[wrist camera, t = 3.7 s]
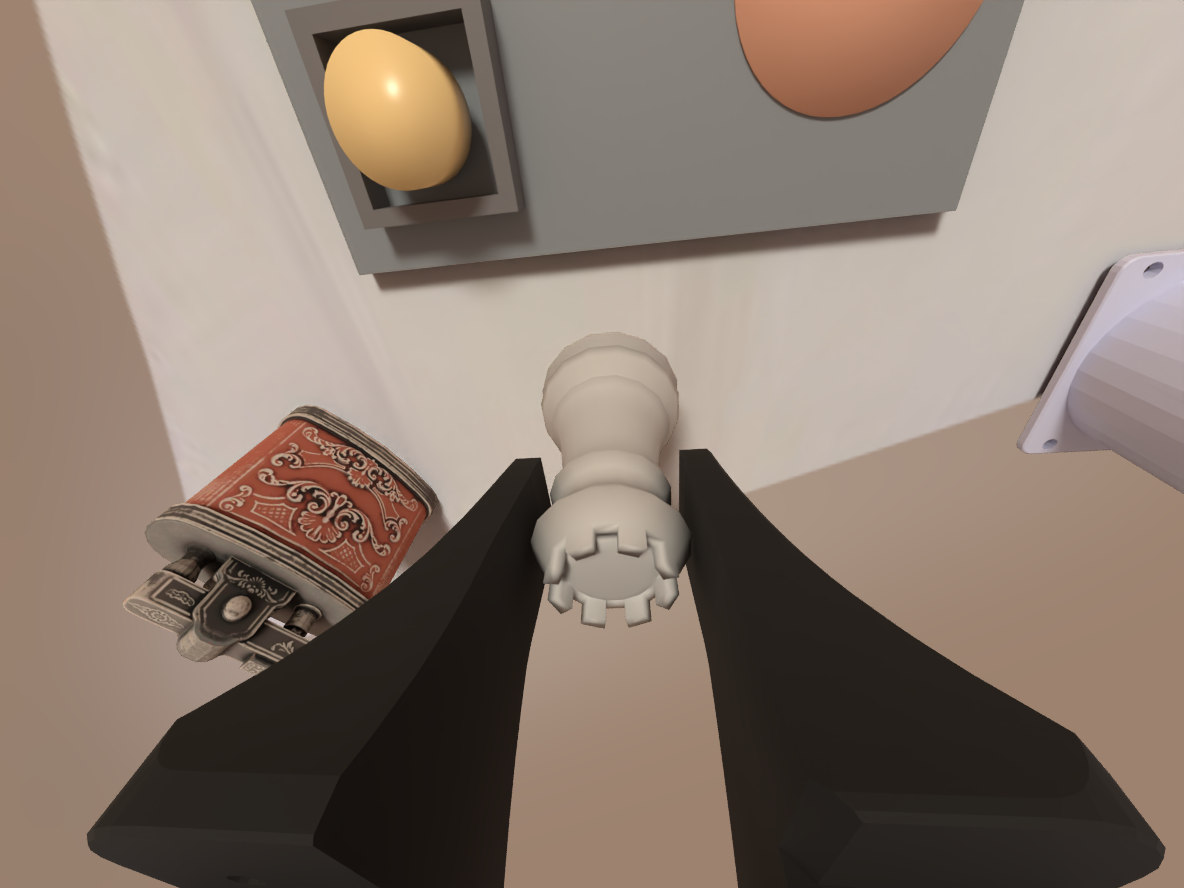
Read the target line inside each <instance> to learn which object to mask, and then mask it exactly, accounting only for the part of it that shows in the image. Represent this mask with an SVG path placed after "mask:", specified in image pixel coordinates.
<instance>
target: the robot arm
mask: <svg viewBox="0 0 1184 888" xmlns="http://www.w3.org/2000/svg"><path fill="white" fill-rule="evenodd" d="M1150 265H1151V266H1150ZM1148 266H1150V268H1149V269H1148V270H1147V271H1146V272H1144V271H1145V270H1146V268H1147V267H1148ZM1017 447H1018V448H1019V449H1020V450H1022V451H1023V452H1025V453H1027V454H1036V453H1057V452H1076V451H1097V450H1112V451H1114V452H1115V453H1117V454H1119V455H1120V456H1122V457H1124V458H1126V459H1127V460H1129V461H1130V462H1132V463H1134V464H1135V465H1137V466H1139V467H1140V468H1142V469H1144V470H1145V471H1147V472H1148V473H1150V474H1152V475H1154V476H1155V477H1157V478H1158V479H1160V480H1162V481H1163V482H1165V483H1167V484H1168V485H1170V486H1172V487H1173V488H1175V489H1177V490H1178V491H1180V492H1182V493H1183V494H1184V249H1180V250H1169V251H1159V252H1148V253H1137V254H1132V255H1128V256H1126V257H1124V258H1122V259H1120V260H1119V261H1118V262H1117V263H1116V264H1114V265H1113V267H1112V268H1111V269H1110V271H1109V273H1108V275H1107V276H1106V278H1105V280H1104V282H1103V284H1102V286H1101V288H1100V289H1099V291H1098V293H1097V295H1096V297H1095V299H1094V300H1093V302H1092V304H1091V306H1090V308H1089V310H1088V312H1087V313H1086V315H1085V317H1084V319H1083V321H1082V323H1081V324H1080V326H1079V328H1078V330H1077V332H1076V334H1075V336H1074V337H1073V339H1072V341H1071V343H1070V345H1069V347H1068V349H1067V350H1066V352H1065V354H1064V356H1063V358H1062V360H1061V361H1060V363H1059V365H1058V367H1057V369H1056V371H1055V373H1054V374H1053V376H1052V378H1051V380H1050V382H1049V384H1048V386H1047V387H1046V389H1045V391H1044V393H1043V395H1042V397H1041V398H1040V401H1039V402H1038V404H1037V406H1036V408H1035V410H1034V411H1033V413H1032V415H1031V417H1030V419H1029V421H1028V423H1027V424H1026V426H1025V428H1024V430H1023V432H1022V434H1021V435H1020V437H1019V439H1018V441H1017ZM550 507H551V503H550V498H549V494H548V489H547V485H546V480H545V475H544V471H543V466H542V462H541V458H525V459H515V461H514V462H513V463H512V464H511V465H510V466H509V467H508V468H507V469H506V470H505V472H504V473H503V474H502V475H501V476H500V477H499V478H498V479H497V481H496V482H495V483H494V484H493V485H492V486H491V487H490V489H489V490H488V491H487V492H486V493H485V494H484V495H483V496H482V497H481V499H480V500H479V501H478V502H477V503H476V504H475V505H474V506H473V507H472V508H471V509H470V510H469V512H468V513H467V514H466V515H465V516H464V517H463V518H462V519H461V520H460V521H459V522H458V523H457V524H456V525H455V526H454V527H453V528H452V529H451V530H450V531H449V532H448V533H447V534H446V535H445V536H444V537H443V538H442V539H441V540H440V541H439V542H438V543H437V544H436V545H435V546H434V547H433V548H431V549H430V550H429V551H428V552H427V553H426V554H425V555H424V556H423V557H421V558H420V559H419V560H418V561H417V562H416V563H415V564H413V565H412V566H411V567H410V568H409V569H407V570H406V571H405V572H404V573H403V574H401V575H400V576H399V577H398V578H397V579H395V580H394V581H393V582H392V583H390V584H389V585H388V586H387V587H385V588H384V589H383V590H381V591H380V592H379V593H377V594H376V595H375V596H373V597H372V598H371V599H369V600H368V601H367V602H365V603H364V604H362V605H361V606H360V607H358V608H357V609H356V610H354V611H353V612H352V613H350V614H349V615H348V616H346V617H345V618H343V619H342V620H341V621H339V622H338V623H336V624H335V625H334V626H332V627H331V628H329V629H328V630H326V631H325V632H323V633H322V634H320V635H319V636H317V637H316V638H314V639H313V640H311V641H310V642H308V643H307V644H305V645H303V646H302V647H300V648H299V649H297V650H296V651H294V652H292V653H291V654H289V655H288V656H286V657H285V658H283V659H281V660H280V661H278V662H277V663H275V664H273V665H272V666H270V667H268V668H267V669H265V670H263V671H262V672H260V673H258V674H257V675H255V676H253V677H252V678H250V679H248V680H246V681H245V682H243V683H241V684H239V685H238V686H236V687H234V688H232V689H230V690H229V691H227V692H225V693H223V694H222V695H220V696H218V697H217V698H215V699H213V700H211V701H210V702H208V703H206V704H204V705H203V706H201V707H199V708H198V709H196V710H194V711H192V712H190V713H188V714H186V715H184V716H183V717H181V718H179V719H177V720H176V721H175V722H174V724H173V725H172V726H171V728H170V729H169V730H168V732H167V733H166V734H165V735H164V737H163V738H162V739H161V740H160V742H159V743H158V744H157V746H156V747H155V748H154V749H153V751H152V752H151V753H150V755H149V756H148V757H147V758H146V760H145V761H144V762H143V763H142V765H141V766H140V767H139V769H138V770H137V771H136V772H135V774H134V775H133V776H132V777H131V779H130V780H129V781H128V782H127V784H126V785H125V786H124V788H123V789H122V790H121V791H120V793H119V794H118V795H117V796H116V798H115V799H114V800H113V801H112V803H111V804H110V805H109V807H108V808H107V809H106V810H105V812H104V813H103V814H102V815H101V817H100V818H99V819H98V821H97V822H96V823H95V824H94V826H93V827H92V828H91V830H90V831H89V832H88V833H87V840H88V846H89V848H90V850H91V851H93V852H94V853H96V854H97V855H99V856H100V857H102V858H105V859H107V860H109V861H111V862H114V863H116V864H118V865H121V866H123V867H126V868H129V869H132V870H134V871H137V872H139V873H142V874H144V875H147V876H150V877H152V878H155V879H158V880H160V881H163V882H166V883H168V884H171V885H174V886H176V887H179V888H504V877H505V866H506V853H507V841H508V828H509V817H510V807H511V797H512V787H513V777H514V767H515V756H516V749H517V740H518V732H519V722H520V714H521V706H522V698H523V690H524V683H525V675H526V668H527V662H528V657H529V651H530V646H531V641H532V637H533V633H534V628H535V624H536V620H537V615H538V611H539V607H540V602H541V598H542V594H543V589H544V585H545V584H544V583H543V581H544V575H545V573H544V572H543V571H542V569H541V568H540V567H539V566H538V565H537V563H536V560H535V557H534V553H533V549H532V546H531V539H532V535H533V532H534V529H535V525H536V522H537V520H538V519H539V518H540V517H541V516H542V515H543V514H544V513H545V512H546V511H547V510H548V509H549V508H550ZM679 513H680V514H681V516H682V518H683V519H684V521H685V523H686V524H687V526H688V528H689V530H690V531H691V533H692V538H691V556H690V558H689V559H688V561H687V563H686V566H687V570H688V575H689V579H690V584H691V587H692V592H693V596H694V600H695V604H696V609H697V613H698V617H699V621H700V626H701V630H702V634H703V638H704V642H705V647H706V652H707V657H708V663H709V668H710V676H711V682H712V689H713V696H714V703H715V710H716V718H717V725H718V732H719V739H720V747H721V754H722V762H723V769H724V777H725V785H726V792H727V800H728V808H729V816H730V823H731V831H732V840H733V848H734V857H735V865H736V873H737V881H738V888H1119V887H1121V886H1123V885H1126V884H1128V883H1131V882H1133V881H1135V880H1138V879H1140V878H1142V877H1144V876H1146V875H1148V874H1149V873H1151V872H1153V871H1154V870H1156V869H1158V868H1159V866H1160V864H1161V862H1162V860H1163V858H1164V853H1165V846H1164V845H1163V844H1162V842H1161V841H1160V839H1159V838H1158V837H1157V836H1156V834H1155V833H1154V831H1153V830H1152V829H1151V827H1150V826H1149V825H1148V823H1147V822H1146V821H1145V819H1144V818H1143V817H1142V816H1141V814H1140V813H1139V812H1138V810H1137V809H1136V808H1135V806H1134V805H1133V804H1132V802H1131V801H1130V800H1129V799H1128V797H1127V796H1126V795H1125V793H1124V792H1123V791H1122V789H1121V788H1120V787H1119V785H1118V784H1117V783H1116V782H1115V780H1114V779H1113V778H1112V776H1111V775H1110V774H1109V773H1108V771H1107V770H1106V769H1105V768H1104V767H1103V766H1102V764H1101V763H1100V762H1099V761H1098V760H1097V759H1096V757H1095V756H1094V755H1093V754H1092V753H1091V752H1090V750H1089V749H1088V748H1087V747H1086V746H1085V745H1084V743H1083V742H1082V741H1081V740H1080V739H1079V738H1078V737H1077V735H1076V734H1075V733H1073V732H1071V731H1070V730H1068V729H1066V728H1064V727H1063V726H1061V725H1059V724H1058V723H1056V722H1054V721H1052V720H1051V719H1049V718H1047V717H1045V716H1044V715H1042V714H1040V713H1039V712H1037V711H1035V710H1033V709H1032V708H1030V707H1028V706H1026V705H1024V704H1023V703H1021V702H1019V701H1018V700H1016V699H1014V698H1012V697H1011V696H1009V695H1007V694H1006V693H1004V692H1002V691H1000V690H998V689H997V688H995V687H993V686H992V685H990V684H988V683H986V682H984V681H983V680H981V679H980V678H978V677H976V676H974V675H973V674H971V673H969V672H968V671H966V670H965V669H963V668H961V667H960V666H958V665H957V664H955V663H953V662H952V661H950V660H949V659H947V658H946V657H944V656H942V655H941V654H939V653H938V652H936V651H935V650H933V649H931V648H930V647H928V646H927V645H925V644H924V643H922V642H921V641H919V640H917V639H916V638H914V637H913V636H911V635H910V634H908V633H907V632H905V631H904V630H903V629H901V628H900V627H898V626H897V625H895V624H894V623H893V622H891V621H890V620H888V619H887V618H886V617H884V616H883V615H881V614H880V613H879V612H877V611H876V610H874V609H873V608H872V607H870V606H869V605H867V604H866V603H864V602H863V601H861V600H860V599H859V598H858V597H856V596H855V595H853V594H852V593H851V592H849V591H848V590H847V589H845V588H844V587H843V586H842V585H840V584H839V583H838V582H837V581H835V580H834V579H833V578H831V577H830V576H829V575H828V574H826V573H825V572H824V571H823V570H822V569H821V568H819V567H818V566H817V565H816V564H815V563H814V562H812V561H811V560H810V559H809V558H808V557H807V556H805V555H804V554H803V553H802V552H801V551H800V550H799V549H798V548H797V547H795V546H794V545H793V544H792V543H791V542H790V541H789V540H788V539H787V538H786V537H785V536H784V535H783V534H782V533H781V532H780V531H779V530H778V529H777V528H776V527H775V526H774V525H773V524H772V523H771V522H770V521H769V520H768V519H767V518H766V517H765V516H764V515H763V514H762V513H761V512H760V511H759V510H758V509H757V508H756V507H755V505H754V504H753V503H752V502H751V501H750V500H749V499H748V498H747V497H746V496H745V495H744V493H743V492H742V491H741V490H740V489H739V488H738V486H737V485H736V484H735V483H734V482H733V480H732V479H731V478H730V477H729V476H728V474H727V473H726V472H725V470H724V469H723V468H722V467H721V465H720V464H719V463H718V461H717V460H716V459H715V457H714V456H713V455H712V453H711V452H710V451H709V450H708V449H692V450H680V451H679Z"/></svg>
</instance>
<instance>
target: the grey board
mask: <svg viewBox="0 0 1184 888" xmlns="http://www.w3.org/2000/svg"><path fill="white" fill-rule="evenodd" d="M251 2H252V4H253V7H254V9H255V12H256V15H257V17H258V20H259V22H260V25H261V27H262V30H263V32H264V35H265V37H266V40H267V42H268V45H269V47H270V50H271V53H272V55H273V58H274V60H275V63H276V65H277V68H278V70H279V73H280V75H281V78H282V80H283V83H284V85H285V88H286V91H287V93H288V96H289V98H290V101H291V103H292V106H293V108H294V111H295V113H296V116H297V118H298V121H299V123H300V126H301V129H302V131H303V134H304V136H305V139H306V141H307V144H308V146H309V149H310V151H311V154H312V156H313V159H314V161H315V164H316V166H317V169H318V172H319V174H320V177H321V179H322V182H323V184H324V187H325V189H326V192H327V194H328V197H329V199H330V202H331V204H332V207H333V210H334V212H335V215H336V217H337V220H338V222H339V225H340V227H341V230H342V232H343V235H344V237H345V240H346V242H347V245H348V248H349V250H350V253H351V255H352V258H353V260H354V263H355V265H356V268H357V270H358V273H359V275H365V274H374V273H383V272H393V271H402V270H411V269H420V268H430V267H439V266H448V265H457V264H467V263H476V262H485V261H494V260H504V259H513V258H522V257H532V256H541V255H550V254H559V253H569V252H578V251H587V250H596V249H606V248H615V247H624V246H633V245H643V244H652V243H661V242H670V241H680V240H689V239H698V238H707V237H717V236H726V235H735V234H744V233H754V232H763V231H772V230H781V229H791V228H800V227H809V226H818V225H828V224H837V223H846V222H855V221H865V220H874V219H883V218H892V217H902V216H911V215H920V214H929V213H939V212H948V211H956V209H957V206H958V203H959V200H960V196H961V193H962V190H963V187H964V184H965V181H966V178H967V175H968V172H969V169H970V166H971V163H972V160H973V156H974V153H975V150H976V147H977V144H978V141H979V138H980V135H981V132H982V129H983V126H984V123H985V120H986V117H987V113H988V110H989V107H990V104H991V101H992V98H993V95H994V92H995V89H996V86H997V83H998V80H999V77H1000V73H1001V70H1002V67H1003V64H1004V61H1005V58H1006V55H1007V52H1008V49H1009V46H1010V43H1011V40H1012V37H1013V33H1014V30H1015V27H1016V24H1017V21H1018V18H1019V15H1020V12H1021V9H1022V6H1023V3H1024V0H251ZM364 29H378V30H384V31H387V32H391V33H393V34H395V35H398V36H400V37H402V38H404V39H405V40H407V41H409V42H411V43H413V44H415V45H417V46H419V47H421V48H422V49H424V50H426V51H428V52H429V53H431V54H433V55H434V56H435V57H436V58H438V59H439V60H440V61H441V62H442V63H443V64H444V65H445V66H446V67H447V68H448V69H449V70H450V72H451V73H452V74H453V76H454V77H455V79H456V80H457V82H458V83H459V85H460V87H461V89H462V91H463V93H464V96H465V99H466V101H467V104H468V108H469V112H470V117H471V125H472V139H471V146H470V151H469V154H468V157H467V159H466V162H465V164H464V166H463V167H462V169H461V170H460V171H459V173H458V174H457V175H456V176H455V177H454V178H452V179H451V180H450V181H448V182H446V183H444V184H442V185H439V186H434V187H429V188H423V189H417V190H410V191H401V190H395V189H391V188H388V187H385V186H382V185H380V184H378V183H377V182H375V181H373V180H372V179H370V178H369V177H367V176H366V175H365V174H364V173H362V172H361V171H360V170H359V169H358V168H357V167H356V166H355V165H354V164H353V163H352V162H351V160H350V159H349V158H348V157H347V155H346V154H345V152H344V151H343V149H342V148H341V146H340V145H339V143H338V141H337V139H336V137H335V135H334V132H333V130H332V128H331V125H330V122H329V119H328V116H327V111H326V106H325V98H324V79H325V72H326V68H327V64H328V62H329V59H330V57H331V54H332V53H333V51H334V49H335V48H336V47H337V45H338V44H339V43H340V42H341V41H342V40H343V39H344V38H346V37H347V36H348V35H350V34H352V33H354V32H357V31H360V30H364Z"/></svg>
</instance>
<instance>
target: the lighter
mask: <svg viewBox="0 0 1184 888" xmlns="http://www.w3.org/2000/svg"><path fill="white" fill-rule="evenodd" d="M436 502H437V499H436V494H435V493H434V491H433V490H432V489H431V488H430V487H429V486H428V485H427V484H426V483H425V482H424V481H423V480H422V479H421V478H420V477H419V476H418V475H417V474H416V473H415V472H414V471H413V470H412V469H411V468H410V467H409V466H408V465H406V464H405V463H404V462H403V461H402V460H400V459H399V458H398V457H397V456H396V455H394V454H393V453H392V452H391V451H390V450H388V449H387V448H386V447H385V446H383V445H382V444H380V443H379V442H377V441H376V440H374V439H373V438H371V437H370V436H368V435H367V434H365V433H364V432H362V431H361V430H359V429H358V428H356V427H355V426H353V425H351V424H349V423H348V422H346V421H344V420H342V419H341V418H339V417H337V416H335V415H333V414H332V413H330V412H328V411H326V410H325V409H322V408H320V407H317V406H311V405H305V406H301V407H298V408H297V409H295V410H294V411H293V412H291V413H290V414H289V415H288V416H286V417H285V418H284V419H283V420H281V422H280V424H279V426H278V429H277V430H276V431H274V432H273V433H272V434H271V435H269V436H268V437H267V438H266V439H264V440H263V441H262V442H261V443H259V444H258V445H257V446H256V447H254V448H253V449H252V450H251V451H249V452H248V453H247V454H246V455H244V456H243V457H242V458H241V459H239V460H238V461H237V462H236V463H234V464H233V465H232V466H231V467H229V468H228V469H227V470H225V471H224V472H223V473H222V474H220V475H219V476H218V477H217V478H215V479H214V480H213V481H212V482H210V483H209V484H208V485H207V486H205V487H204V488H203V489H202V490H200V491H199V492H198V493H197V494H195V495H194V496H193V497H192V498H190V499H189V500H188V501H187V502H185V503H182V504H177V505H173V506H172V507H170V508H169V509H168V510H166V511H165V512H164V513H163V514H161V515H160V516H159V517H157V518H156V519H155V520H154V521H153V522H151V523H150V524H149V525H147V527H146V531H145V535H146V539H147V542H148V543H149V544H150V545H151V547H152V548H153V549H154V550H155V551H156V552H158V553H159V554H160V555H161V556H162V557H164V558H165V559H167V560H169V561H170V562H172V563H171V564H169V565H167V566H166V567H164V568H163V569H162V570H160V571H157V572H156V573H155V574H154V575H153V576H151V577H150V578H149V579H148V580H147V581H146V582H145V583H144V584H142V585H141V586H140V587H139V588H138V589H137V590H136V591H135V592H134V593H133V594H131V595H130V596H129V597H128V598H127V599H126V600H125V601H124V603H123V607H124V609H126V610H127V611H128V612H130V613H132V614H134V615H136V616H138V617H140V618H142V619H144V620H147V621H149V622H151V623H153V624H156V625H158V626H160V627H162V628H165V629H167V630H169V631H171V632H174V633H176V634H177V636H178V641H177V650H178V651H179V653H180V654H181V656H183V657H185V658H188V659H190V660H193V661H195V662H206V661H209V660H212V659H214V658H216V657H218V656H220V655H225V656H227V657H230V658H232V659H234V660H237V661H239V662H241V663H243V664H242V665H241V667H240V669H242V670H244V671H246V672H248V673H251V674H253V675H257V674H258V673H260V672H262V671H263V670H265V669H267V668H268V667H270V666H272V665H273V664H275V663H277V662H278V661H280V660H281V659H283V658H285V657H286V656H288V655H289V654H291V653H292V652H294V651H296V650H297V649H299V648H300V647H302V646H303V645H305V644H307V643H308V642H310V641H309V640H307V639H305V638H303V637H305V636H306V635H307V633H310V634H313V635H315V636H319V635H320V634H322V633H323V632H325V631H326V630H328V629H329V628H331V627H332V626H334V625H335V624H336V623H338V622H339V621H341V620H342V619H343V618H345V617H346V616H348V615H349V614H350V613H352V612H353V611H354V610H356V609H357V608H358V607H360V606H361V605H362V604H364V603H365V602H367V601H368V600H369V599H371V598H372V597H373V596H375V595H376V594H377V593H379V592H380V591H381V590H383V589H384V588H385V587H387V586H388V585H389V584H390V582H391V580H392V578H393V577H394V575H395V573H396V571H397V569H398V567H399V565H400V564H401V562H402V560H403V558H404V556H405V554H406V552H407V551H408V549H409V547H410V545H411V543H412V541H413V539H414V538H415V536H416V534H417V532H418V530H419V528H420V526H421V525H422V523H424V522H426V521H427V519H428V518H429V517H430V515H431V513H432V511H433V510H434V508H435V506H436ZM197 578H198V579H199V580H201V581H202V582H204V583H205V584H204V586H203V587H201V586H199V585H197V584H195V582H196V580H197ZM270 617H272V618H274V619H276V620H279V621H281V622H283V623H285V625H284V627H281V626H279V625H277V624H275V623H273V622H271V621H269V620H267V619H268V618H270Z"/></svg>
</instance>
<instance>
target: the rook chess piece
mask: <svg viewBox="0 0 1184 888" xmlns="http://www.w3.org/2000/svg"><path fill="white" fill-rule="evenodd" d="M541 406H542V411H543V416H544V421H545V426H546V429H547V433H548V434H549V436H550V437H551V439H552V440H553V441H554V443H555V444H556V446H557V447H558V448H559V450H560V451H561V453H562V465H563V469H562V470H561V471H560V472H559V473H558V474H557V475H556V476H555V480H554V483H553V486H552V489H551V493H550V496H551V501H552V506H551V507H550V508H549V509H548V510H547V511H546V512H545V513H544V514H543V515H542V516H541V517H540V518H539V519H538V520H537V522H536V525H535V529H534V532H533V535H532V539H531V546H532V549H533V553H534V557H535V560H536V563H537V565H538V566H539V567H540V568H541V569H542V571H543V572H544V573H545V575H544V581H543V583H544V584H550V587H549V594H548V601H549V602H550V603H551V604H552V605H553V606H554V607H555V608H556V609H557V610H558V611H559V612H560V613H561V614H562V613H564V612H566V611H568V610H570V609H572V603H573V599H574V600H576V601H578V602H579V603H581V604H582V615H581V624H584V625H589V626H595V627H599V628H605V622H606V608H625V620H626V622H627V624H628V627H633V626H636V625H640V624H643V623H647V622H650V621H651V611H650V600H652V599H653V598H656V605H658V606H660V607H663V608H666V609H668V610H669V609H670V608H671V606H672V605H673V603H674V601H675V600H676V598H677V597H678V595H679V591H678V584H677V577H679V574H680V572H681V571H682V569H683V567H684V566H685V564H686V563H687V561H688V559H689V558H690V556H691V538H692V533H691V531H690V530H689V528H688V526H687V524H686V523H685V521H684V519H683V518H682V516H681V514H680V513H679V511H677V510H676V509H674V508H673V507H671V486H670V484H669V482H668V481H667V479H666V477H665V475H664V474H663V472H662V470H661V469H660V468H659V454H660V453H661V450H662V448H663V447H664V446H665V445H666V444H667V442H668V440H669V438H670V436H671V434H672V432H673V430H674V428H675V425H676V423H677V420H678V391H677V379H676V377H675V375H674V373H673V371H672V368H671V366H670V364H669V362H668V360H667V358H666V357H665V356H664V355H663V354H662V353H660V352H659V351H658V350H657V349H656V348H654V347H653V346H652V345H651V344H650V343H648V342H647V341H646V340H644V339H640V338H637V337H634V336H630V335H627V334H623V333H620V332H612V333H602V334H592V335H588V336H586V337H584V338H582V339H580V340H578V341H576V342H575V343H573V344H571V345H569V346H567V347H565V348H564V349H563V350H562V352H561V353H560V354H559V355H558V357H557V358H556V359H555V360H554V362H553V363H552V364H551V365H550V367H549V368H548V371H547V376H546V380H545V384H544V388H543V399H542V403H541Z"/></svg>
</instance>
